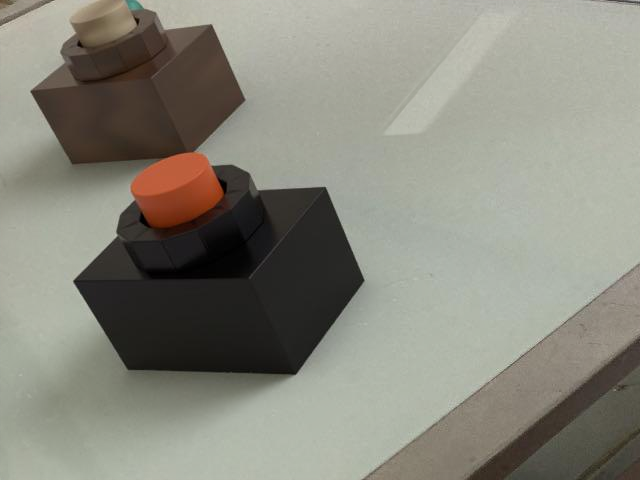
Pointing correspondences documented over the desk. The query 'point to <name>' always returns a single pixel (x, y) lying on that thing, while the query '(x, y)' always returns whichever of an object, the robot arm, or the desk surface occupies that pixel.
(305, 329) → the front block
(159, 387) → the desk surface
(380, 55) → the desk surface
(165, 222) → the front button
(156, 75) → the back block
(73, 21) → the back button
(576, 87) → the desk surface
